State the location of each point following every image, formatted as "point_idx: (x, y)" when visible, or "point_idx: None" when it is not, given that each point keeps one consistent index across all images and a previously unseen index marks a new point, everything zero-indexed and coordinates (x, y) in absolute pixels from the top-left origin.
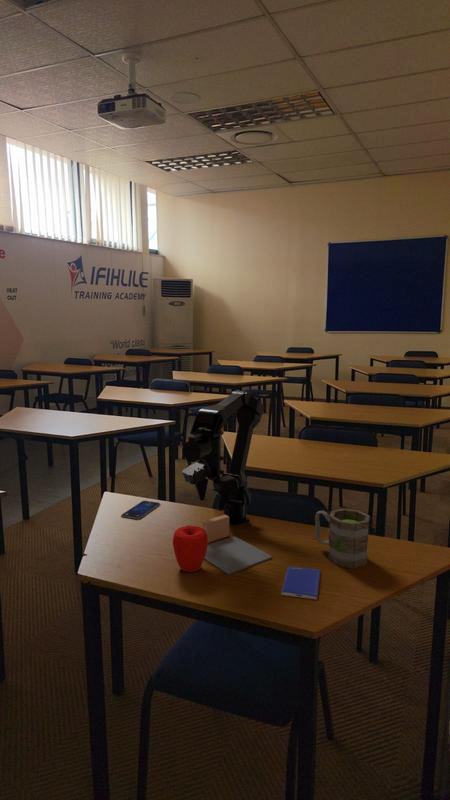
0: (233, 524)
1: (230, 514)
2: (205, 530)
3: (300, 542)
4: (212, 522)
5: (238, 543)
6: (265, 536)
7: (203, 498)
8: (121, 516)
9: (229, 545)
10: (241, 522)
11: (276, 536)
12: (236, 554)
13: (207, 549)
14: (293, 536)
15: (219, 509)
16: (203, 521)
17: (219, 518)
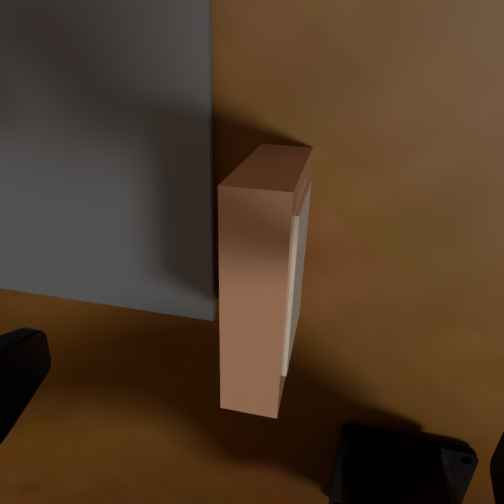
0: (347, 425)
1: (383, 481)
2: (266, 166)
3: (27, 442)
4: (220, 245)
5: (124, 269)
6: (139, 411)
7: (498, 484)
8: None
9: (128, 215)
10: (335, 463)
11: (115, 435)
12: (12, 163)
13: (151, 58)
14: (82, 467)
15: (12, 335)
16: (287, 191)
17: (238, 338)
